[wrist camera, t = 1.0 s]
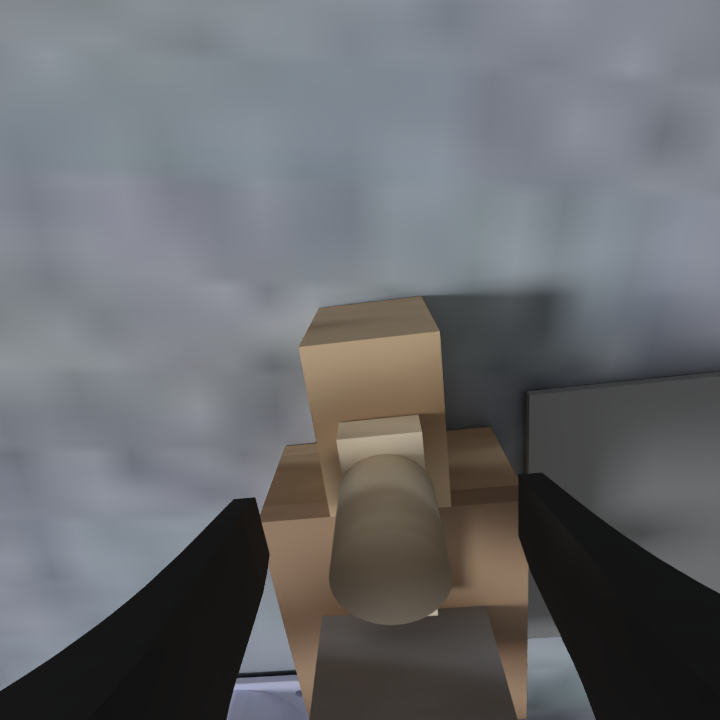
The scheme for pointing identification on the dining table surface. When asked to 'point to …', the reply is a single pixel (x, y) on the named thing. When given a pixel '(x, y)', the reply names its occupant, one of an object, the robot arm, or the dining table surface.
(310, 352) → the open wooden box
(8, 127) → the dining table surface
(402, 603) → the beige piece
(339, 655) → the lid
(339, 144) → the dining table surface
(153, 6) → the dining table surface
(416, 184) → the dining table surface
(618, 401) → the mat
